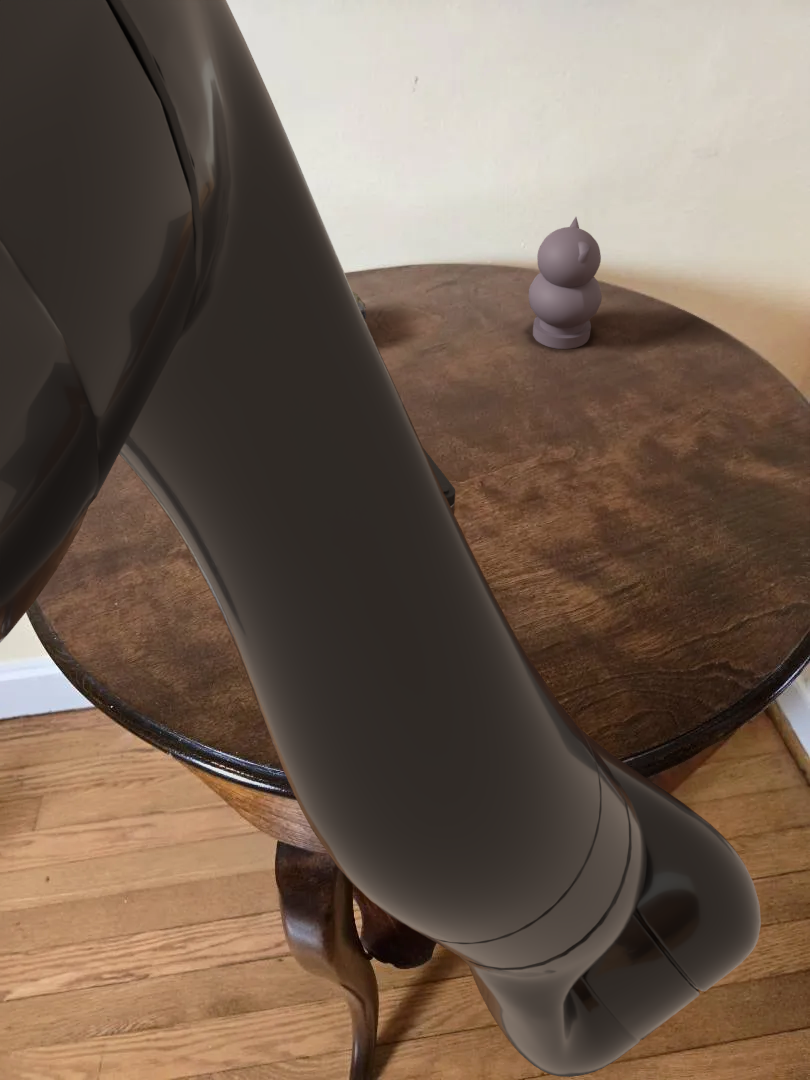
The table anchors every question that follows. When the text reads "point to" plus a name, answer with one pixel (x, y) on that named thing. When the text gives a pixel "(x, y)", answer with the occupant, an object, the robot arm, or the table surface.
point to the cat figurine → (565, 288)
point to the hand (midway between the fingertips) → (276, 446)
